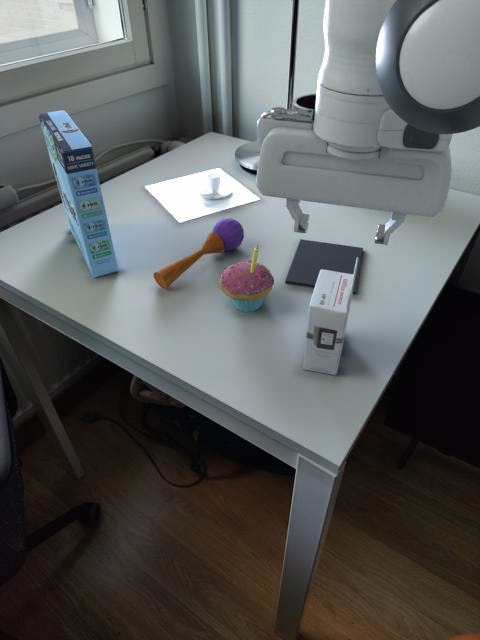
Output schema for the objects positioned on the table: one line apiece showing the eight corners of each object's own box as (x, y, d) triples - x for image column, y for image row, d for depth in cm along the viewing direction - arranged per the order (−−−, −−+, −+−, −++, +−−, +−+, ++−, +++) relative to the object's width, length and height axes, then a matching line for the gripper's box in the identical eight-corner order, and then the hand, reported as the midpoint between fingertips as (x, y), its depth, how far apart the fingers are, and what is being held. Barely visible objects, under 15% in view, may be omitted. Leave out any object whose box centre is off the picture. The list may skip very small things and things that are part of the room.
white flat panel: (203, 204, 102) (202, 187, 99) (188, 191, 107) (186, 174, 105) (238, 195, 105) (237, 178, 103) (221, 182, 111) (220, 165, 108)
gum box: (70, 229, 95) (35, 113, 80) (94, 223, 97) (65, 108, 82) (93, 279, 82) (57, 151, 67) (121, 271, 84) (92, 145, 69)
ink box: (312, 330, 71) (322, 248, 61) (344, 336, 70) (359, 254, 60) (301, 369, 65) (310, 286, 55) (336, 377, 64) (352, 293, 54)
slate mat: (362, 250, 88) (363, 247, 87) (355, 294, 78) (355, 291, 77) (300, 241, 90) (300, 239, 90) (285, 283, 80) (285, 280, 80)
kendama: (144, 261, 79) (224, 210, 89) (155, 290, 82) (231, 237, 92) (165, 269, 75) (246, 215, 85) (176, 299, 79) (253, 243, 88)
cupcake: (281, 297, 77) (285, 235, 69) (255, 326, 72) (256, 263, 64) (238, 281, 81) (237, 220, 73) (210, 308, 75) (205, 245, 67)
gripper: (249, 115, 45) (248, 237, 55) (471, 135, 41) (429, 264, 50) (264, 96, 50) (261, 211, 59) (466, 112, 46) (428, 234, 55)
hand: (340, 236), depth 55 cm, fingers open, 8 cm apart
